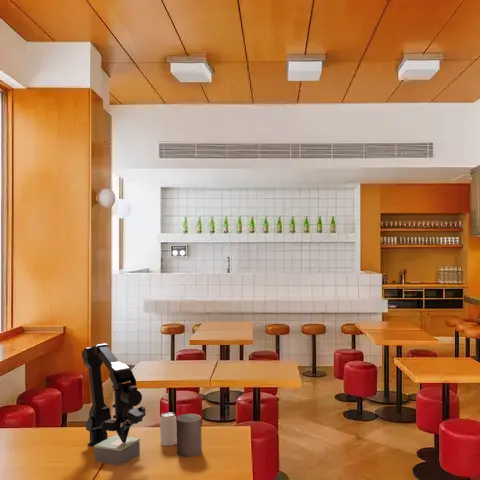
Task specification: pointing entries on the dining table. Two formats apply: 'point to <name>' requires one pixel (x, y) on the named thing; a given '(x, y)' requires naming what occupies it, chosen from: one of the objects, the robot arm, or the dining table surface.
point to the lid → (116, 443)
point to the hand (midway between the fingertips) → (124, 442)
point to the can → (168, 429)
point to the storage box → (117, 454)
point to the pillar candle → (189, 435)
